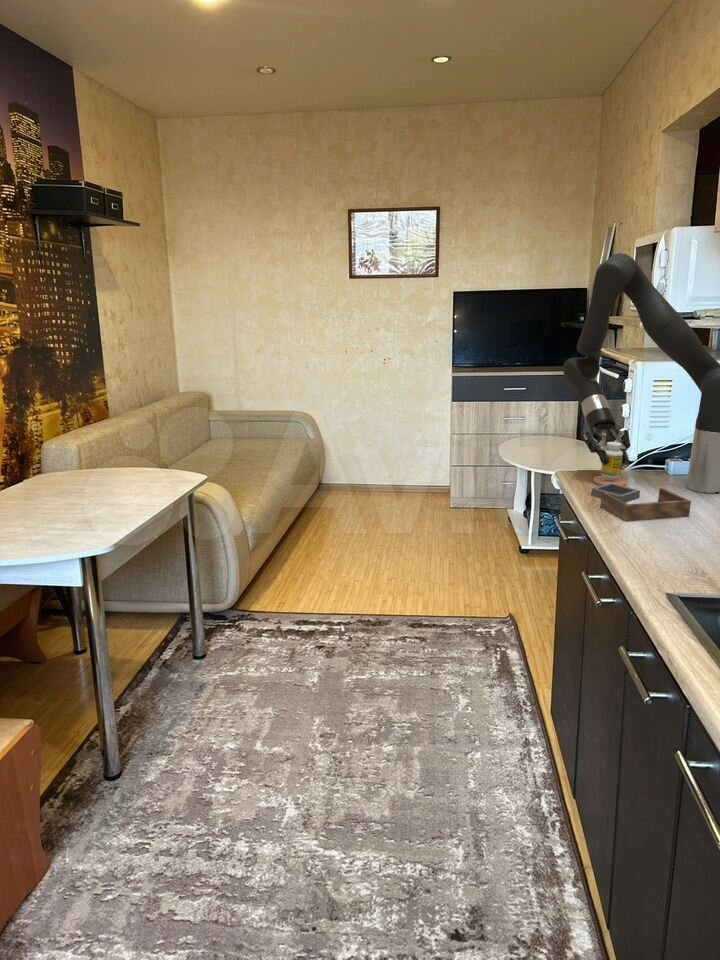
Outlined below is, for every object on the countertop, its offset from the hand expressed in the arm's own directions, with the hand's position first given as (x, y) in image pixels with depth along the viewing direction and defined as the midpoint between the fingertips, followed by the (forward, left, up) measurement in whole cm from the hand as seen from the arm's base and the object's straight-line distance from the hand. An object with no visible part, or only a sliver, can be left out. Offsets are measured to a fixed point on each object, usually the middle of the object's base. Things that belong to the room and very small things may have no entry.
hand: (615, 463), depth 193 cm
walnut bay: (+14, +17, -6) cm, 24 cm away
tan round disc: (-1, -2, -6) cm, 7 cm away
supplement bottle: (-1, -2, -4) cm, 5 cm away
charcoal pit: (+9, +6, -6) cm, 13 cm away
